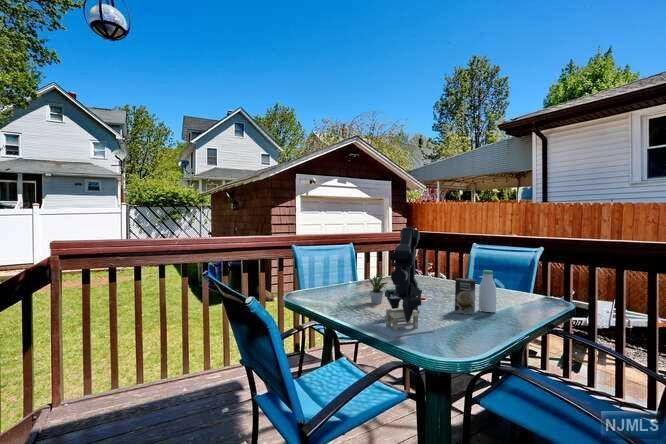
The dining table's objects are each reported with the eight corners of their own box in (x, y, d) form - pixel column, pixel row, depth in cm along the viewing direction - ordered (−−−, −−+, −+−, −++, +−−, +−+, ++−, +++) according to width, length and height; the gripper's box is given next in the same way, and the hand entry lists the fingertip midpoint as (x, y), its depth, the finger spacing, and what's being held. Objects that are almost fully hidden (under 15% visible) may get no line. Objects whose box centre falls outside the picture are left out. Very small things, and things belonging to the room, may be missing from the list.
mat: (412, 321, 150) (412, 319, 150) (433, 331, 136) (433, 330, 136) (371, 326, 142) (371, 324, 142) (389, 337, 128) (389, 336, 128)
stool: (386, 326, 140) (386, 309, 140) (408, 323, 144) (409, 307, 144) (394, 331, 134) (394, 313, 134) (418, 328, 138) (418, 311, 138)
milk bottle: (498, 314, 162) (498, 272, 162) (480, 313, 164) (481, 271, 163) (493, 309, 170) (494, 269, 169) (477, 308, 171) (477, 269, 171)
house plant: (365, 307, 172) (365, 275, 172) (358, 300, 186) (358, 271, 186) (392, 306, 175) (392, 274, 175) (382, 299, 189) (383, 270, 189)
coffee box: (454, 313, 163) (454, 279, 163) (455, 309, 169) (455, 277, 169) (475, 315, 159) (475, 281, 159) (475, 311, 165) (475, 278, 165)
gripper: (433, 283, 133) (432, 323, 133) (406, 275, 150) (406, 310, 151) (408, 284, 129) (408, 326, 129) (384, 276, 146) (384, 313, 147)
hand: (402, 318), depth 139 cm, fingers open, 8 cm apart
